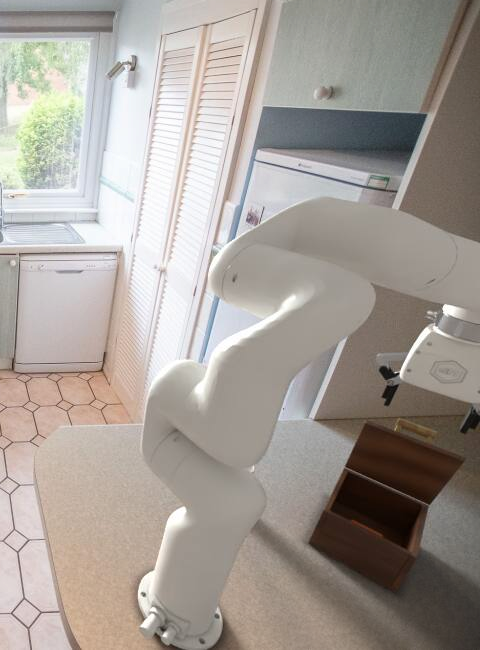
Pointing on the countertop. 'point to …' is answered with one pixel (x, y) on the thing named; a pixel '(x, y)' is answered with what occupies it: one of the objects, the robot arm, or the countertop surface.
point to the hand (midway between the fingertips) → (423, 415)
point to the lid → (404, 460)
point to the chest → (377, 514)
